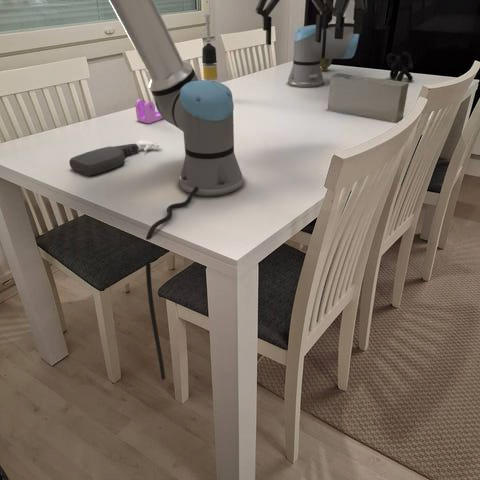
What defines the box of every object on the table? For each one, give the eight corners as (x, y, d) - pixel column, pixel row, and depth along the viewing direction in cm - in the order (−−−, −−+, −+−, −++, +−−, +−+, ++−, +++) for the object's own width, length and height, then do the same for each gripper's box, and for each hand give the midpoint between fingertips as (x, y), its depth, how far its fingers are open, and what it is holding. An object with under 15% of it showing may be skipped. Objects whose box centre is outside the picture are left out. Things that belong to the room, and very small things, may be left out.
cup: (314, 71, 219) (315, 53, 215) (319, 68, 225) (320, 51, 220) (329, 72, 216) (330, 54, 212) (333, 69, 222) (335, 52, 217)
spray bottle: (67, 168, 120) (139, 144, 136) (91, 178, 114) (163, 151, 130) (65, 157, 118) (137, 134, 134) (89, 167, 112) (162, 142, 128)
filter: (220, 99, 177) (217, 15, 161) (206, 100, 176) (202, 16, 160) (215, 96, 182) (212, 14, 166) (202, 97, 180) (197, 14, 164)
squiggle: (400, 92, 202) (376, 71, 205) (417, 76, 202) (392, 56, 205) (405, 81, 191) (380, 59, 194) (423, 64, 191) (397, 42, 194)
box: (402, 117, 153) (409, 82, 147) (395, 122, 149) (401, 86, 143) (335, 106, 167) (338, 73, 161) (327, 110, 163) (330, 76, 156)
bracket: (148, 123, 152) (145, 102, 148) (137, 120, 155) (134, 100, 151) (175, 114, 161) (173, 94, 157) (164, 111, 164) (162, 92, 160)
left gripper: (340, -53, 112) (333, 38, 123) (243, -52, 109) (244, 43, 120) (352, -54, 106) (343, 42, 117) (249, -53, 102) (250, 47, 114)
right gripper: (361, -39, 149) (354, 31, 160) (325, -38, 132) (319, 40, 143) (383, -39, 145) (374, 32, 156) (348, -38, 128) (340, 42, 140)
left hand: (293, 43), depth 119 cm, fingers open, 13 cm apart
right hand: (348, 36), depth 150 cm, fingers open, 13 cm apart
